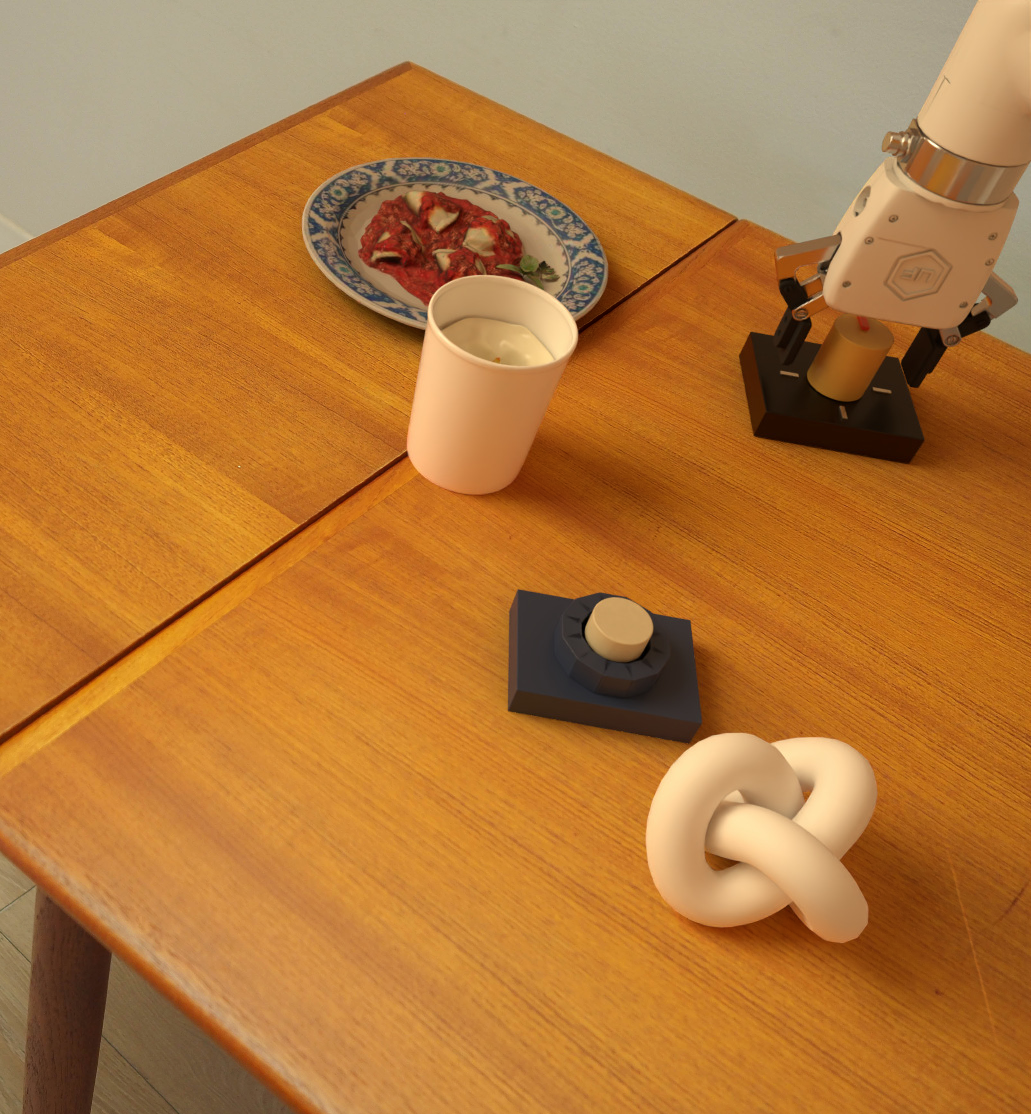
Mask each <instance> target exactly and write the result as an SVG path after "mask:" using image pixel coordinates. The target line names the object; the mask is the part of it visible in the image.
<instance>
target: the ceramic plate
mask: <svg viewBox="0 0 1031 1114" xmlns="http://www.w3.org/2000/svg"><path fill="white" fill-rule="evenodd" d="M312 192H313V193H312V194H311V195H310V196H309V198H308V200H307V201H306V203H305V205H304V208H303V209H304V210H303V212H302V217H301V233H302V234H301V235H302V238H303V242H304V244H305V247H306V249H307V252H308V254H309V255H310V257H311V259H312V261H313V262H314V264H315V265H316V266H317V268H318V269H319V270H320V272H322V274H323V275H324V276H325V277H326V278H327V279H328V280H329V281H330V282H331V283H332V284H333V285H335V286H336V287H337V288H338V289H339V290H341V292H343V293H345V294H346V295H347V296H348V297H350V298H352V300H355V301H356V302H358V303H359V304H360V305H362V306H364V307H366V308H368V309H369V310H371V311H374V312H376V313H378V314H379V315H382V316H383V317H386V318H389V319H391V320H394V321H396V322H398V323H401V324H404V325H407V326H409V327H413V328H416V329H420V330H423V331H425V330H426V324H427V318H428V306H429V303H430V300H431V298H432V296H433V295H434V293H435V292H436V291H437V290H438V289H439V288H440V287H442V286H443V285H445V284H446V283H448V282H450V281H453V280H455V279H458V278H462V277H467V276H474V275H494V276H502V277H508V278H512V279H516V280H520V281H523V282H526V283H529V284H531V285H533V286H536V287H538V288H540V289H542V290H544V291H545V292H547V293H549V294H550V295H552V296H553V297H554V298H556V299H557V300H558V301H560V302H561V303H562V304H563V305H564V306H565V307H566V308H567V310H568V311H569V312H570V313H571V315H572V316H573V318H574V320H575V322H577V321H579V320H580V319H581V318H583V317H585V316H586V315H587V314H588V313H589V312H590V311H591V310H592V309H593V308H594V307H595V306H596V305H597V304H598V303H599V301H600V300H601V297H602V296H603V294H604V292H605V290H606V287H607V284H608V281H609V280H608V278H609V263H608V259H607V258H608V257H607V255H606V252H605V249H604V247H603V245H602V243H601V241H600V238H599V237H598V236H597V234H596V233H595V232H594V231H593V229H592V227H590V225H588V223H587V222H586V221H585V220H584V219H583V218H582V217H581V216H580V215H579V214H578V213H577V212H575V211H574V210H573V209H572V208H571V207H570V206H569V205H567V204H566V203H564V202H563V201H562V200H560V199H558V198H557V197H556V196H553V194H551V193H549V192H547V191H546V190H544V189H542V188H541V187H538V186H537V185H534V184H533V183H530V182H528V181H526V180H524V179H522V178H520V177H517V176H514V175H512V174H509V173H507V172H503V171H500V170H497V169H494V168H491V167H487V166H484V165H481V164H476V163H472V162H467V161H460V160H456V159H455V160H454V159H447V158H440V157H430V156H429V157H427V156H426V157H422V156H421V157H420V156H419V157H418V156H417V157H416V156H415V157H414V156H413V157H412V156H411V157H410V156H409V157H405V156H404V157H390V158H389V157H388V158H384V159H379V160H374V161H368V162H364V163H360V164H357V165H353V166H351V167H348V168H347V169H344V170H341V171H340V172H338V173H336V174H334V175H332V176H331V177H329V178H327V179H326V180H325V181H324V182H322V183H321V184H320V185H319V186H318V187H317V188H316V189H315V190H314V191H312Z"/></svg>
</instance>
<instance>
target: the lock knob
mask: <svg viewBox="0 0 1031 1114" xmlns="http://www.w3.org/2000/svg"><path fill="white" fill-rule="evenodd" d="M894 343H895V336H894V334H893V332H892V330H890V328H889V327H888V326H887V325H886V324H884V323H883V322H881V320H877V319H872V318H866V317H861V316H855V315H850V314H846V313H842V314H839V315H838V316H837V317H836V318H835V320H834V322H833V324H832V325H831V327H830V329H829V330H828V333H827V335H826V336H825V339H824V340H823V342H822V343H821V344H822V346H821V348H820V349H819V351H818V353H817V355H816V357H815V359H814V361H813V362H812V364H811V366H810V368H809V370H808V372H807V378H808V381H809V383H810V384H811V385H812V387H813V388H814V389H816V390H817V391H818V392H820V393H821V394H823V395H825V396H827V397H829V398H831V399H834V400H838V401H846V402H849V401H855V400H858V399H860V398H861V397H862V396H863V394H864V393H865V391H866V389H867V388H868V386H869V384H870V382H871V381H872V379H873V377H874V376H875V374H876V372H877V371H878V369H879V367H880V366H881V364H882V362H883V361H884V359H885V357H886V356H888V354H889V353H890V350H891V349H892V347H893V346H894Z"/></svg>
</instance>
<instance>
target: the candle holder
mask: <svg viewBox="0 0 1031 1114" xmlns="http://www.w3.org/2000/svg"><path fill="white" fill-rule="evenodd" d="M576 322H577V321H575V320H574V318H573V316H572V315H571V313H570V312H569V311H568V310H567V308H566V307H565V306H564V305H563V304H562V303H561V302H560V301H558V300H557V299H556V298H554V297H553V296H552V295H550V294H549V293H547V292H545V291H544V290H542V289H540V288H538V287H536V286H533V285H531V284H529V283H526V282H523V281H520V280H516V279H512V278H508V277H502V276H494V275H474V276H467V277H462V278H458V279H455V280H453V281H450V282H448V283H446V284H445V285H443V286H442V287H440V288H439V289H438V290H437V291H436V292H435V293H434V295H433V296H432V298H431V300H430V303H429V306H428V318H427V324H426V330H424V336H423V341H422V348H421V353H420V360H419V365H418V371H417V376H416V381H415V387H414V388H415V389H414V393H413V399H412V405H411V412H410V417H409V423H408V428H407V430H408V431H407V436H406V452H407V456H408V458H409V461H410V462H411V464H412V465H413V467H414V468H415V470H416V471H417V472H418V473H419V474H420V475H421V476H422V477H423V478H425V479H426V480H427V481H428V482H430V483H432V484H434V485H435V486H437V487H440V488H441V489H444V490H447V491H449V492H453V493H457V494H461V495H470V496H481V495H488V494H493V493H497V492H499V491H502V490H504V489H505V488H507V487H508V486H509V485H511V484H512V483H513V482H514V481H515V480H516V478H517V477H518V475H519V474H520V472H521V470H522V467H523V466H524V464H525V461H526V459H527V457H528V455H529V453H530V450H531V448H532V446H533V444H534V441H535V439H536V437H537V435H538V432H539V430H540V427H541V425H542V423H543V421H544V418H545V416H546V414H547V411H548V409H549V407H550V405H551V402H552V400H553V398H554V395H555V393H556V391H557V389H558V386H559V384H560V381H561V379H562V377H563V375H564V372H565V370H566V368H567V366H568V363H569V362H570V359H571V357H572V355H573V353H574V352H575V350H576V348H577V346H578V342H579V330H578V326H577V323H576Z"/></svg>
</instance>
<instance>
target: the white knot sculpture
mask: <svg viewBox="0 0 1031 1114" xmlns="http://www.w3.org/2000/svg"><path fill="white" fill-rule="evenodd" d="M874 772H875V771H874V769H873V768H872V766H871V763H870V761H869V760H868V759H867V758H866V757H865V755H863V754H862V753H861V752H860V751H859V750H857V749H856V748H854V747H853V746H852V745H850V744H849V743H846V742H844V741H842V740H839V739H837V738H830V737H825V736H813V737H811V736H809V737H807V736H805V737H793V738H787V739H781V740H777V741H774V742H771V743H770V742H768V741H766V740H764V739H763V738H761V737H759V736H757V735H754V734H752V733H747V732H724V733H719V734H714V735H710V736H708V737H706V738H704V739H702V740H699V741H698V742H696V743H695V744H693V745H691V747H689V748H688V749H687V750H684V752H683V753H682V754H681V755H680V756H679V757H678V758H677V759H676V760H675V761H674V762H673V763H672V764H671V765H670V767H669V769H667V772H666V773H665V774H664V776H663V778H662V779H661V781H660V783H659V785H658V787H657V789H656V791H655V794H654V796H653V798H652V801H651V805H650V808H649V812H648V816H647V819H646V828H645V829H646V830H645V848H646V859H647V864H648V865H647V866H648V869H649V872H650V875H651V878H652V882H653V884H654V887H655V888H656V890H657V891H658V894H660V896H661V898H662V899H663V900H664V901H665V902H666V904H667V905H669V907H670V908H672V910H673V911H675V912H676V913H678V914H680V915H681V916H683V917H684V918H685V919H687V918H688V919H687V920H690V921H691V922H695V923H698V924H701V925H704V926H707V927H713V928H732V927H738V926H745V925H748V924H749V925H750V924H752V923H755V922H758V921H761V920H764V919H766V918H768V917H770V916H772V915H774V914H776V913H778V912H779V911H781V910H782V909H784V908H786V907H787V906H789V907H790V908H791V910H792V911H793V913H794V914H795V915H796V916H797V918H798V919H799V920H800V921H801V922H802V923H803V925H804V926H805V927H807V928H808V929H809V930H810V931H811V932H813V933H814V934H815V935H817V936H818V937H819V938H821V939H822V940H823V941H826V942H832V943H837V944H844V943H847V942H850V941H852V940H855V939H857V938H859V937H860V935H861V934H862V932H863V931H864V930H865V928H866V927H867V925H868V923H869V905H868V902H867V900H866V898H865V896H864V893H863V892H862V891H861V889H860V887H859V885H858V883H857V882H856V880H855V879H854V877H853V875H852V874H851V872H850V871H849V870H848V869H847V868H846V867H845V865H844V863H842V862H841V859H843V857H844V856H845V855H846V853H847V852H848V851H849V850H850V849H851V848H852V847H853V846H854V845H855V844H856V842H857V841H858V839H859V838H860V837H861V836H862V834H863V833H864V831H865V829H866V828H867V827H868V826H869V823H870V821H871V819H872V818H873V817H872V816H873V815H874V812H875V809H876V805H877V801H878V785H877V779H876V776H875V773H874ZM809 792H811V793H810V795H809V796H808V798H807V800H805V797H804V793H809ZM705 852H706V853H708V854H711V855H715V856H718V857H720V858H724V859H727V860H732V861H735V862H736V861H737V862H738V863H735V864H734V865H732V866H729V867H727V868H725V869H720V870H715V869H713V868H712V867H711V866H710V864H709V863H708V861H707V860H706V853H705Z"/></svg>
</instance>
